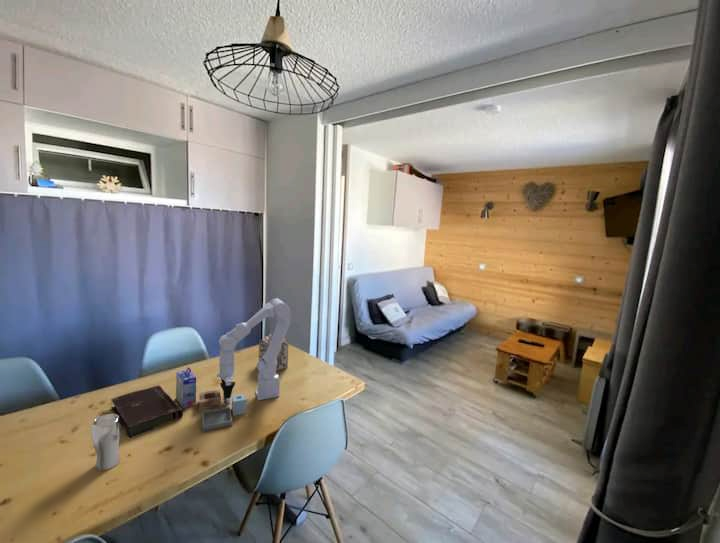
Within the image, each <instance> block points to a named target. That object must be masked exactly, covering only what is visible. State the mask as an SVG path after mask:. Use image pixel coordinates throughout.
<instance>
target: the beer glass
mask: <svg viewBox="0 0 720 543" xmlns="http://www.w3.org/2000/svg"><path fill="white" fill-rule="evenodd" d="M120 439H121V424H120V421H119V416H118V415H117V414H114V413H109V414H108V413H107V414H103V415H101V416H98V417H96V418H95V419H93V421H92V422H91V441H92V445H93V448H94V451H95V454H96V463H95V469H96V470H97V471H102V472H103V471H109V470H110V469H112V468H114V467H116V466H117V465H118V464H119V463H120V462H121V456H120V453H119V444H120Z"/></svg>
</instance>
